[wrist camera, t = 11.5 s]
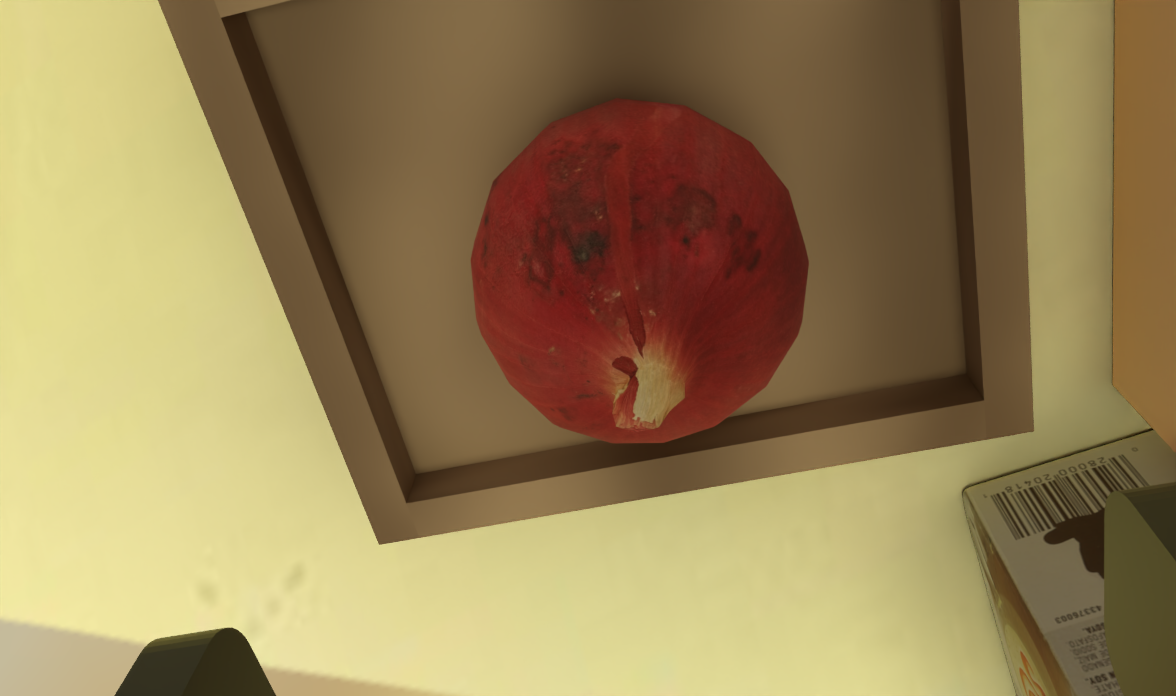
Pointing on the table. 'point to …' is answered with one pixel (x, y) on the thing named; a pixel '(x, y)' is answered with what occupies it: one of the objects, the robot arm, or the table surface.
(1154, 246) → the open pink storage bin
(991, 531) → the coffee box
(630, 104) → the onion
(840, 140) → the walnut tray
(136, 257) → the table surface
